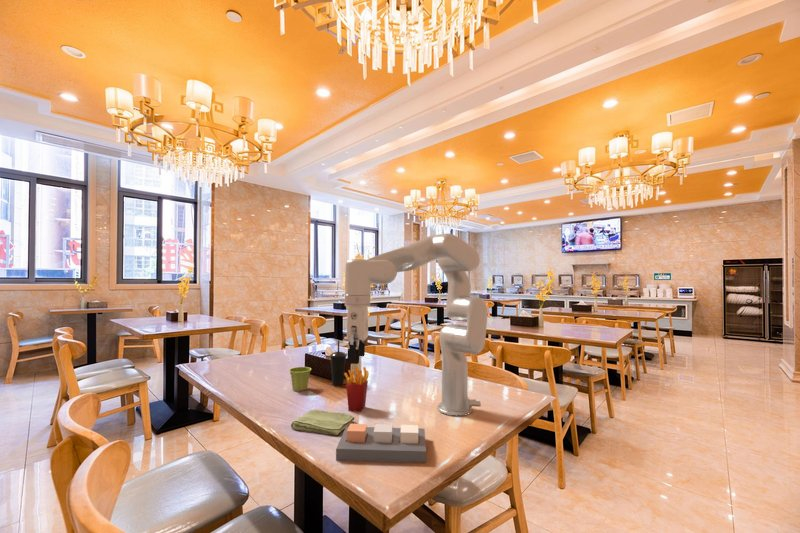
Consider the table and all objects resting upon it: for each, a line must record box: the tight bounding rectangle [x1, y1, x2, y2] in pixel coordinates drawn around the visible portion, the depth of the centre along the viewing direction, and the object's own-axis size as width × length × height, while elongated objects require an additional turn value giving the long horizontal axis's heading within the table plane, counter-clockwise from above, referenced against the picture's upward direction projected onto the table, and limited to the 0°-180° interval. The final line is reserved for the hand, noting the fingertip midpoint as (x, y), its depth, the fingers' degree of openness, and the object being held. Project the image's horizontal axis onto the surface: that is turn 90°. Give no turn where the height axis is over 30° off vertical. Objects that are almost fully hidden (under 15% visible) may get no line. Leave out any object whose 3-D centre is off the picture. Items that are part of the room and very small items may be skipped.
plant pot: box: [288, 366, 312, 392], centre depth 151 cm, size 9×9×9 cm
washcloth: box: [290, 409, 355, 436], centre depth 114 cm, size 13×18×3 cm
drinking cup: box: [329, 340, 348, 387], centre depth 159 cm, size 8×8×20 cm
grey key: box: [374, 423, 394, 443], centre depth 99 cm, size 5×5×3 cm
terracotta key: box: [347, 423, 368, 442], centre depth 99 cm, size 5×5×3 cm
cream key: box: [400, 424, 419, 444], centre depth 98 cm, size 5×5×3 cm
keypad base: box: [335, 426, 427, 463], centre depth 99 cm, size 24×14×3 cm, turn 88°
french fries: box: [344, 366, 369, 413], centre depth 130 cm, size 9×8×15 cm
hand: (356, 359), depth 101 cm, fingers open, 9 cm apart
